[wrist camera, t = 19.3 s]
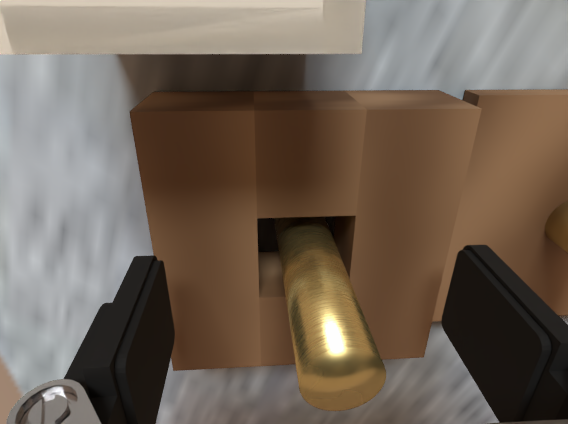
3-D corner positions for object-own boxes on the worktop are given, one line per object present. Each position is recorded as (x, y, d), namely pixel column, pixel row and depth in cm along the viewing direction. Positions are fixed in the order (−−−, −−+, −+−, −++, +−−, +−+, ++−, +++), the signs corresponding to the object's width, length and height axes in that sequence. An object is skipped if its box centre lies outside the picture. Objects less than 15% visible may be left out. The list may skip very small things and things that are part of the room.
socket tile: (438, 90, 14) (481, 108, 11) (398, 307, 19) (423, 357, 16) (153, 91, 13) (129, 111, 11) (184, 317, 18) (173, 370, 15)
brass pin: (323, 194, 16) (391, 345, 9) (321, 238, 17) (380, 407, 9) (273, 196, 16) (300, 352, 8) (274, 240, 16) (298, 414, 9)
